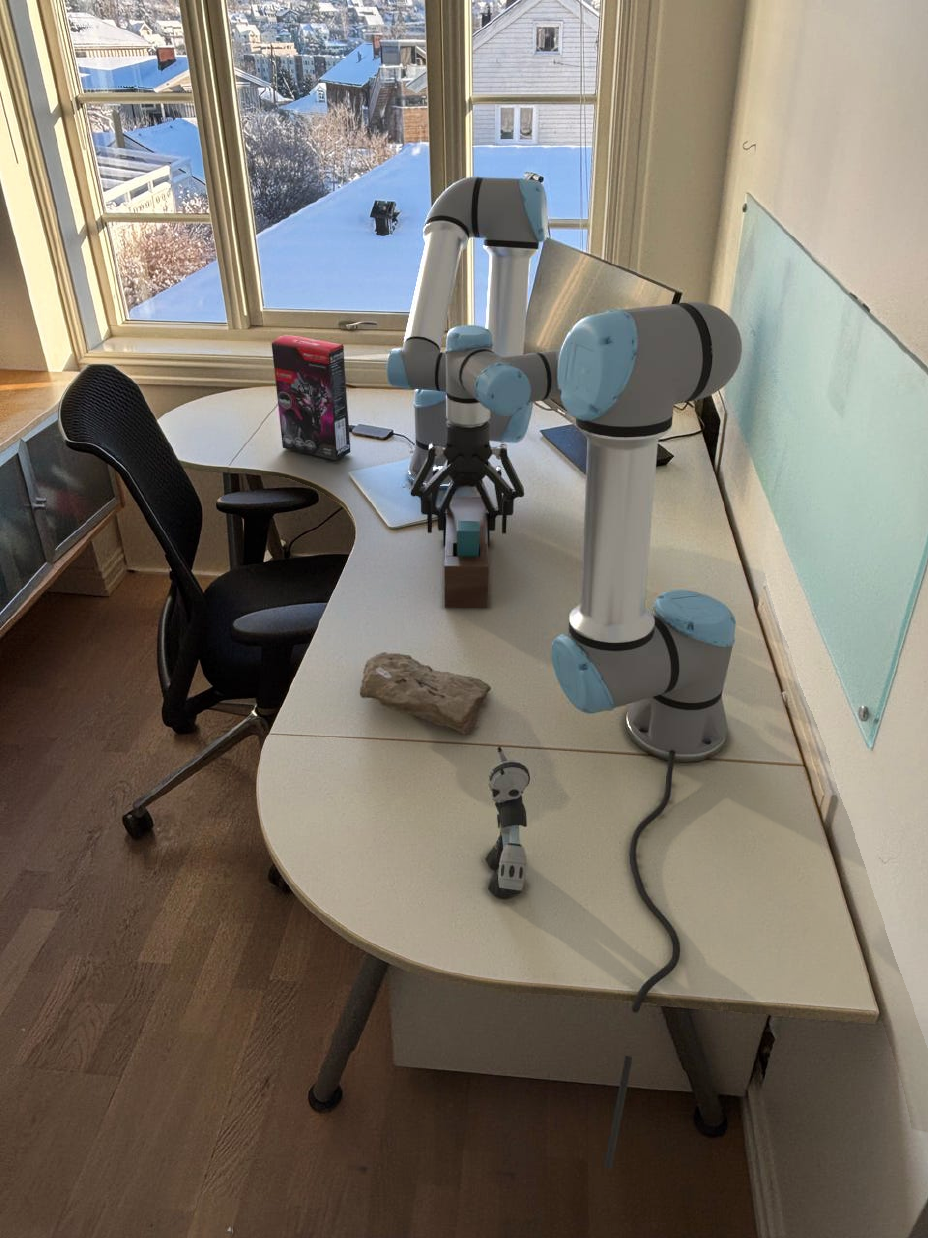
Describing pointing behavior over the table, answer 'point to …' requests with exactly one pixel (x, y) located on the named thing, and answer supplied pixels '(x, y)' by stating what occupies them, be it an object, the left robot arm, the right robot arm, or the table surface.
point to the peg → (467, 538)
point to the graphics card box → (312, 396)
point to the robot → (508, 827)
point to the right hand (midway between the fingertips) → (466, 529)
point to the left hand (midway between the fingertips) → (466, 543)
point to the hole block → (466, 573)
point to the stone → (424, 691)
